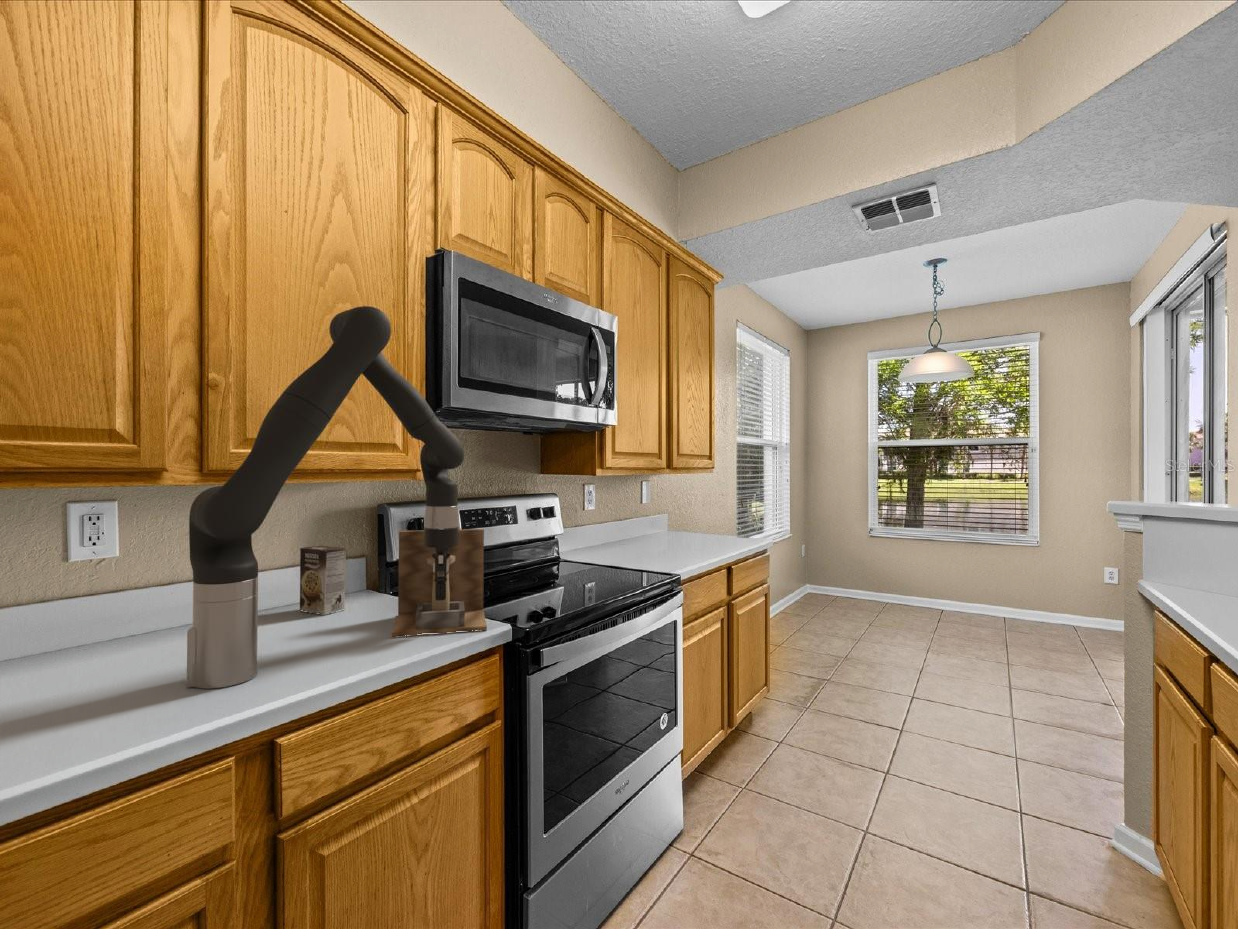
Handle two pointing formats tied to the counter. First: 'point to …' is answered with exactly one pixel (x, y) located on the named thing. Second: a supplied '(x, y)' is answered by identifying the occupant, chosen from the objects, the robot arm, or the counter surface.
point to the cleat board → (419, 585)
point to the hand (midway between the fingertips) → (441, 595)
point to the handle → (436, 605)
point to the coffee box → (322, 579)
